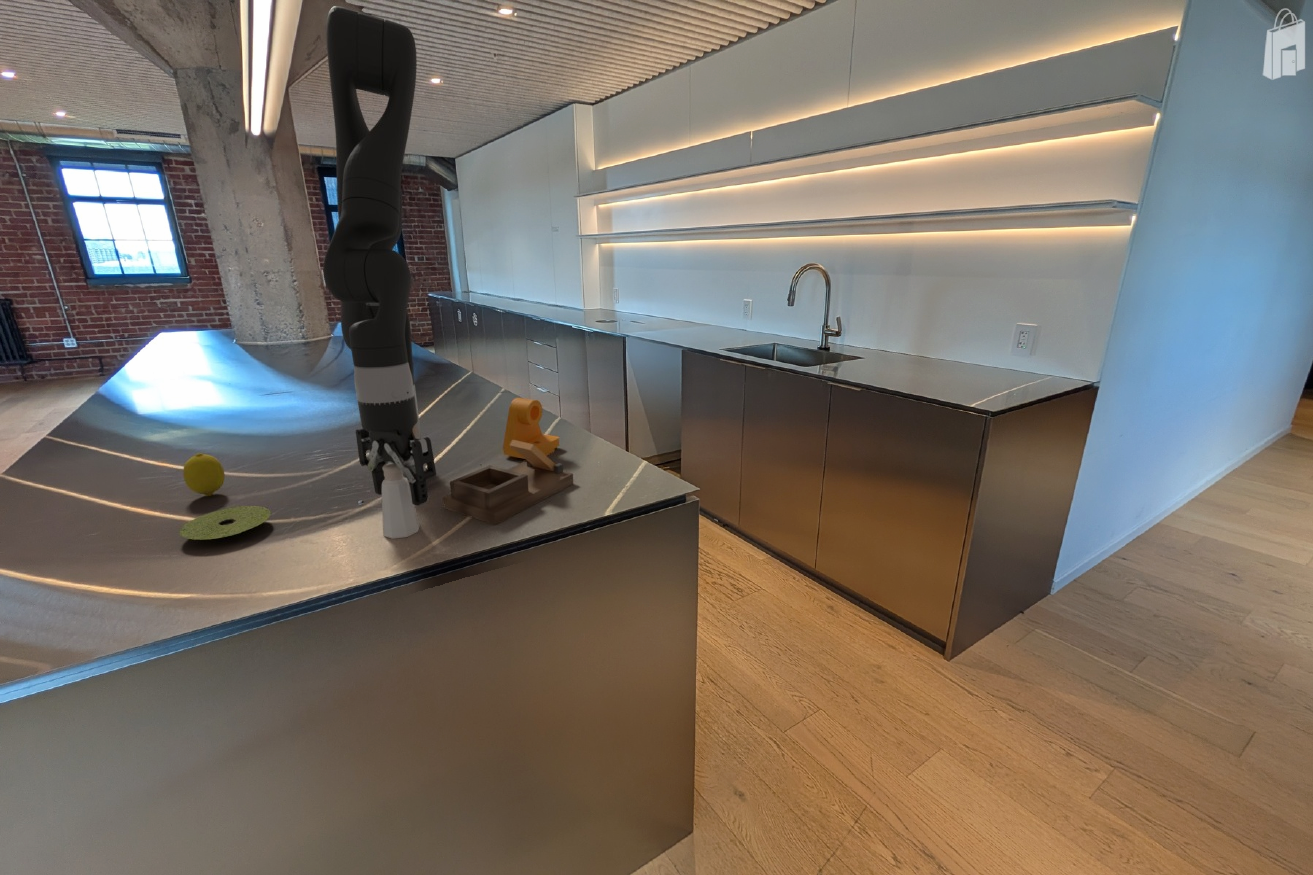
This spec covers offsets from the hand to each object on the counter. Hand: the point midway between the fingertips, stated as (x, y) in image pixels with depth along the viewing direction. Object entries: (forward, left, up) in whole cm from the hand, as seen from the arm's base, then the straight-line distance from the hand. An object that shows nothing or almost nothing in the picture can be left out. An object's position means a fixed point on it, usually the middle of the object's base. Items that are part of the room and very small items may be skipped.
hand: (401, 498), depth 86 cm
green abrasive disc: (-23, -14, -6) cm, 27 cm away
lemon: (-41, -9, -6) cm, 42 cm away
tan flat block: (+4, +25, -1) cm, 25 cm away
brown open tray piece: (+4, +19, -6) cm, 20 cm away
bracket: (-8, +38, -6) cm, 39 cm away
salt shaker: (-1, 0, -6) cm, 6 cm away
